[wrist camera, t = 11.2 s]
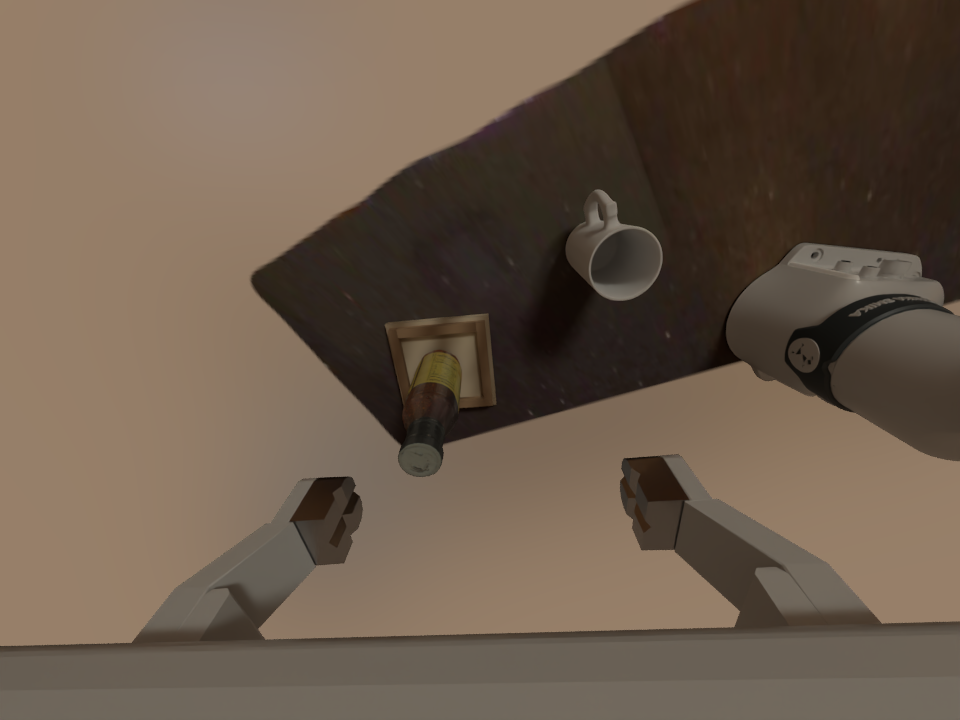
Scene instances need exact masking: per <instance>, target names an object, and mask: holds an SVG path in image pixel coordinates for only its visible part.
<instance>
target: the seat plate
mask: <svg viewBox="0 0 960 720" xmlns="http://www.w3.org/2000/svg"><path fill="white" fill-rule="evenodd" d="M385 327H386V332H387V336H388V340H389V345H390V349H391V353H392V358H393V362H394V366H395V371H396V375H397V379H398V384H399V388H400V392H401V397H402V401H403V405H405V400H406V397H407V394H408V391H409V389H410V386H411V383H412V380H413V377H414V375H415V372H416V369H417V367H418V364H419V363H420V361H421V360H422V358H423V356H424V355H426V354H428V353H429V352H432V351H434V350H444V351H447V352H450V353H451V354H453V355H455V356H456V358H457V359H458V361H459V363H460V366H461V369H462V380H461V390H460V403H459V408H468V407H482V406H493V405H496V393H495V382H494V372H493V361H492V350H491V339H490V328H489V317H488V314H478V315H467V316H456V317H444V318H433V319H422V320H411V321H399V322H388V323H386V324H385Z"/></svg>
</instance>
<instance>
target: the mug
mask: <svg viewBox="0 0 960 720" xmlns="http://www.w3.org/2000/svg"><path fill="white" fill-rule="evenodd" d="M598 203H599V205H600V207H601V210H602V213H603V218H604V221H600V219H599V216H598V209H597V204H598ZM584 213H585V219H586V222H584V223H582V224H580V225H578V226H577V227H576V228H575V229H574V230H573V231H572V232H571V234H570V235H569V237H568V239H567V242H566V249H565V251H566V257H567V260H568V262H569V263H570V265H571V266H572V267H573V268H574V269H575V270H576V271H577V272H578V273H579V274H580V275H581V276H582V277H583V278H584V279H585V280H586V282H587V283H588V284H589V285H590V286H591V287H593V288H594V289H595V290H596V291H597V292H598V293H599V294H600V295H601V296H603V297H605V298H607V299H610V300H615V301H624V300H629V299H633V298H635V297H637V296H639V295H641V294H642V293H644V292H645V291H646V290H647V289H648V288H649V287H650V286H651V285H652V284H653V283H654V281H655V280H656V278H657V276H658V274H659V272H660V269H661V266H662V249H661V246H660V243H659V241H658V240H657V238H656V237H655V236H654V235H653V234H652V233H651V232H649V231H648V230H646V229H644V228H641V227H636V226H630V225H625V224H620V223H619V222H618V219H617V204H616V202H614V201H612V200H611V198H610V197H609V196H608V195H607V194H606V193H605V192H604V191H602V190H595V191H593V192H592V193H591V194H590V195H589V197H588V198H587V200H586V202H585V204H584Z"/></svg>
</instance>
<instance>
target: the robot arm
mask: <svg viewBox="0 0 960 720" xmlns="http://www.w3.org/2000/svg"><path fill="white" fill-rule="evenodd" d="M812 253H814V254H813V256H812V257H811V255H812ZM921 276H922V266H921V261H920V258H919V257H918V256H915V255H911V254H907V253H898V252H889V251H879V250H870V249H860V248H851V247H841V246H832V245H822V244H813V243H801V244H799V245H797V246H795V247H794V248H793V249H792V250H791V251H790V252H789V253H788V254H787V255H786V256H785V257H784V259H783V260H782V261H781V262H780V263H779V264H778V265H777V266H776V267H774V268H773V269H771V270H770V271H768V272H766V273H765V274H763V275H762V276H760V277H759V278H758V279H756V280H755V281H754V282H753V283H751V284H750V285H749V286H748V287H747V288H746V289H745V290H744V291H743V293H742V294H741V295H740V296H739V298H738V299H737V301H736V302H735V304H734V305H733V307H732V309H731V311H730V314H729V317H728V320H727V325H726V338H727V342H728V345H729V347H730V349H731V351H732V352H733V353H734V354H735V355H736V356H737V357H738V358H739V359H741V360H743V361H745V362H746V363H748V364H749V365H751V367H752V369H753V371H754V373H755V374H756V375H757V377H759V378H761V379H762V380H765V381H772V380H777V381H779V382H781V383H783V384H785V385H787V386H789V387H791V388H793V389H795V390H797V391H798V392H800V393H803V394H804V395H807V396H815V395H817V396H818V397H819V398H821V399H822V400H824V401H826V402H827V403H830V404H832V405H834V406H837V407H838V408H840V409H843V410H845V411H849V412H855V413H857V414H858V415H860V416H862V417H863V418H865V419H867V420H869V421H870V422H872V423H873V424H875V425H877V426H878V427H880V428H882V429H883V430H885V431H887V432H888V433H890V434H892V435H894V436H895V437H897V438H898V439H900V440H902V441H903V442H905V443H907V444H908V445H910V446H912V447H913V448H915V449H917V450H918V451H920V452H923V453H925V454H928V455H930V456H933V457H937V458H941V459H946V460H952V461H960V316H957V315H954V314H953V313H952V312H951V311H949V310H948V309H946V308H944V307H942V306H943V301H944V291H943V288H942V286H941V284H940V283H939V282H938V281H935V280H931V279H927V278H922V277H921ZM621 469H622V471H623V473H624V477H623V478H622V480H621V481H620V492H621V499H622V503H623V506H624V509H625V511H626V514H627V515H628V516H630V517H631V518H632V519H633V526H632V529H633V531H634V533H635V536H636V538H637V541H638V543H639V545H640V548H641V550H675V552H676V553H677V554H678V555H679V556H681V557H682V558H683V559H684V560H685V561H686V562H687V563H688V564H689V565H690V566H691V567H693V569H695V570H696V571H697V572H698V573H699V574H700V575H701V576H702V577H703V578H704V579H706V580H707V581H708V582H709V583H710V584H711V585H712V586H713V587H714V588H716V590H718V591H719V592H720V593H721V594H722V595H723V596H724V597H725V598H726V599H728V601H730V602H731V603H732V604H733V605H734V606H735V607H736V608H737V609H738V610H739V611H740V614H739V616H738V619H737V622H736V625H735V627H734V628H733V627H732V628H693V629H659V630H658V629H656V630H618V631H617V630H616V631H579V632H543V633H542V632H540V633H505V634H466V635H427V636H391V637H351V638H313V639H274V640H265V639H264V637H263V636H262V634H261V633H260V632H259V630H258V628H259V627H260V626H261V625H262V624H263V623H264V622H265V621H266V620H267V619H268V618H269V617H270V616H271V614H272V613H273V612H274V611H275V610H276V609H277V608H278V607H279V606H280V605H281V604H282V603H283V602H284V601H285V599H286V598H287V597H288V596H289V595H290V594H291V593H292V592H293V591H294V590H295V589H296V588H297V587H298V585H299V584H300V583H301V582H302V581H303V580H304V579H305V578H306V577H307V576H308V575H309V574H310V572H312V570H313V569H314V568H315V567H316V566H315V565H327V564H340V563H344V562H345V560H346V557H347V555H348V552H349V550H350V547H351V544H352V539H351V536H350V535H351V534H352V533H353V532H354V531H356V530H357V529H358V527H359V524H360V521H361V518H362V510H363V509H362V501H361V499H360V496H359V495H357V494H356V493H355V492H353V490H354V488H355V486H356V485H355V483H354V480H353V478H352V477H325V478H309V479H302V480H300V481H299V482H298V483H297V484H296V486H295V487H294V489H293V491H292V492H291V493H290V495H289V496H288V498H287V499H286V501H285V502H284V504H283V505H282V507H281V509H280V510H279V511H278V513H277V514H276V516H275V517H274V519H273V520H272V522H271V523H269V524H264V525H263V526H262V527H260V528H259V529H257V530H256V531H255V532H253V533H252V534H250V535H249V536H248V537H246V538H245V539H243V540H242V541H241V542H239V543H238V544H237V545H235V546H234V547H233V548H231V549H230V550H228V551H227V552H225V553H224V554H223V555H221V556H220V557H218V558H217V559H216V560H214V561H213V562H211V563H210V564H209V565H207V566H206V567H204V568H203V569H202V570H200V571H199V572H198V573H196V574H195V575H193V576H192V577H191V578H189V579H188V580H186V581H185V582H183V583H182V584H181V585H179V586H178V587H176V588H175V589H174V590H173V592H172V593H171V594H170V595H169V597H168V598H167V599H166V601H165V602H164V603H163V604H162V605H161V607H160V608H159V609H158V610H157V612H156V613H155V614H154V615H153V617H152V618H151V619H150V620H149V622H148V623H147V624H146V625H145V627H144V628H143V629H142V630H141V632H140V633H139V634H138V635H137V637H136V638H135V639H134V641H133V642H132V643H114V644H76V645H35V646H0V720H960V622H925V623H888V624H887V623H886V624H882V623H881V622H880V621H879V620H878V619H877V617H875V615H874V614H873V613H872V612H871V611H870V610H869V609H868V608H867V606H866V605H865V604H864V603H863V602H862V601H861V600H860V599H859V597H858V596H857V595H856V594H855V593H854V592H853V591H852V590H851V588H850V587H849V586H848V585H847V584H846V583H845V582H844V581H843V580H842V578H841V577H840V576H839V575H838V574H837V573H836V572H835V571H834V569H833V568H832V567H831V566H830V565H829V564H828V563H826V562H824V561H823V560H821V559H819V558H818V557H816V556H814V555H813V554H811V553H809V552H808V551H806V550H804V549H802V548H800V547H799V546H797V545H796V544H794V543H792V542H790V541H789V540H787V539H785V538H783V537H782V536H780V535H779V534H777V533H775V532H773V531H772V530H770V529H768V528H767V527H765V526H763V525H762V524H760V523H758V522H756V521H755V520H753V519H751V518H750V517H748V516H746V515H744V514H743V513H741V512H739V511H738V510H736V509H734V508H733V507H731V506H729V505H728V504H726V503H724V502H722V501H721V500H719V499H712V498H711V497H710V495H709V494H708V493H707V491H706V490H705V488H704V487H703V486H702V484H701V483H700V481H699V480H698V479H697V477H696V476H695V474H694V473H693V472H692V470H691V469H690V467H689V466H688V465H687V463H686V462H685V460H684V459H683V458H682V457H681V456H680V455H678V454H676V455H663V456H652V457H638V458H624V459H623V461H622V468H621Z"/></svg>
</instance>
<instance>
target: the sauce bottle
mask: <svg viewBox="0 0 960 720" xmlns="http://www.w3.org/2000/svg"><path fill="white" fill-rule="evenodd" d="M461 380H462V369H461V366H460V363H459V361H458V359H457V358H456V356H455V355H453V354H451V353H450V352H447V351H444V350H434V351H432V352H429V353H428V354H426V355H424V356H423V358H422V360H421V361H420V363H419V364H418V367H417V369H416V372H415V375H414V377H413V380H412V383H411V386H410V389H409V391H408V394H407V397H406V400H405V405H404V408H403V412H402V420H403V423H404V428H405V429H406V430H407V436H406V439H405V441H404V442H403V444H402V446H401V448H400V451H399V455H398V461H399V464H400V466H401V468H402V469H403V470H404V471H405V472H406V473H408V474H410V475H413V476H416V477H425V476H430V475H432V474H435V473H436V472H437V471H438V470H439V468H440V466H441V464H442V459H443V453H444V452H443V448H442V447H443V442H444V439H445V437H446V435H447V434H448V433H449V432H450V431H451V430H452V429H453V427H454V426H455V424H456V422H457V419H458V413H459V403H460V390H461Z"/></svg>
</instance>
